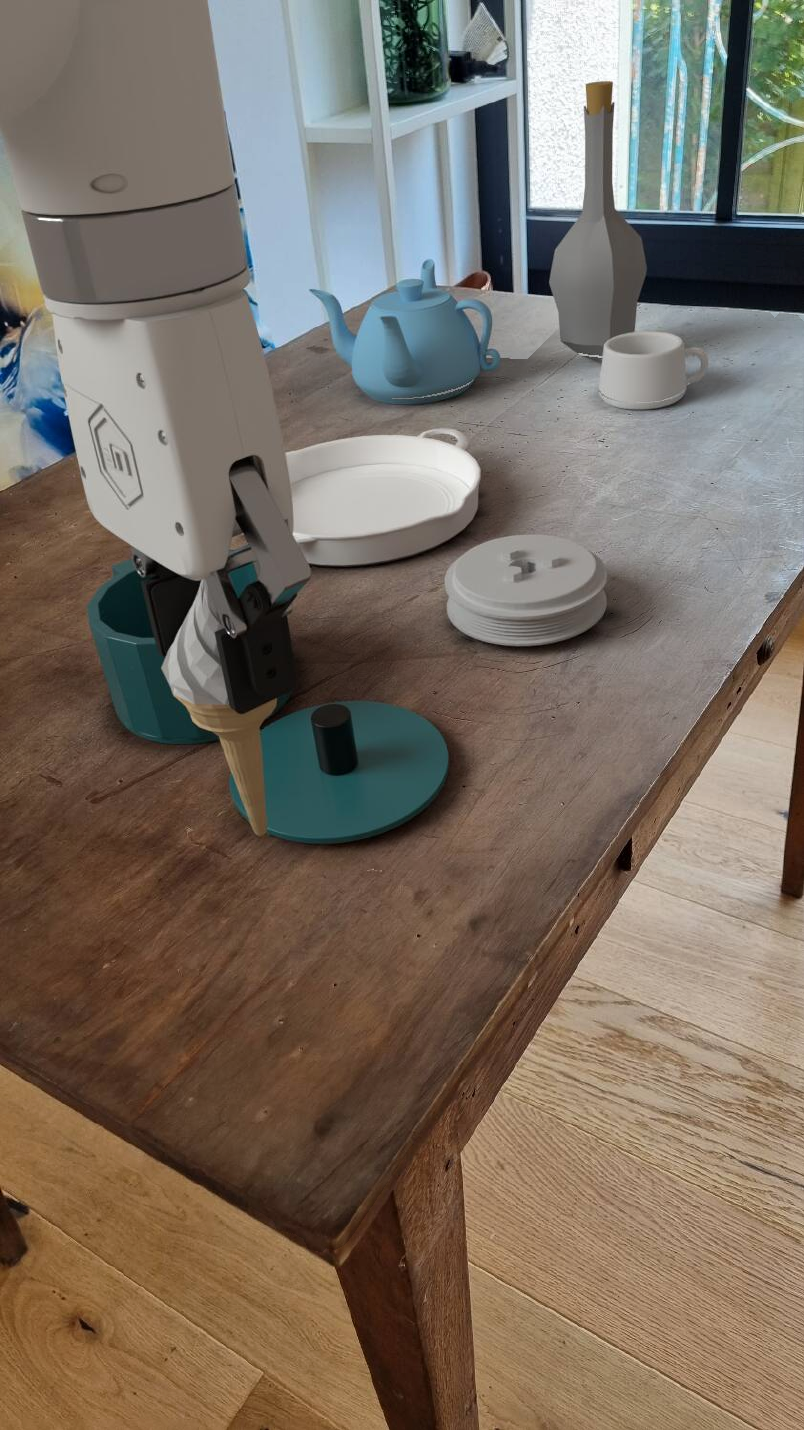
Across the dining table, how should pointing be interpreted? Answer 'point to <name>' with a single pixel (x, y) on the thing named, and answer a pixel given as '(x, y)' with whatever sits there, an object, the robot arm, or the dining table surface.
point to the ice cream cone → (218, 702)
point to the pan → (381, 496)
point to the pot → (144, 659)
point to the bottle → (597, 247)
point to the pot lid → (347, 771)
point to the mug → (646, 369)
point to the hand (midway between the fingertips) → (226, 668)
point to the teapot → (413, 342)
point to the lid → (526, 590)
